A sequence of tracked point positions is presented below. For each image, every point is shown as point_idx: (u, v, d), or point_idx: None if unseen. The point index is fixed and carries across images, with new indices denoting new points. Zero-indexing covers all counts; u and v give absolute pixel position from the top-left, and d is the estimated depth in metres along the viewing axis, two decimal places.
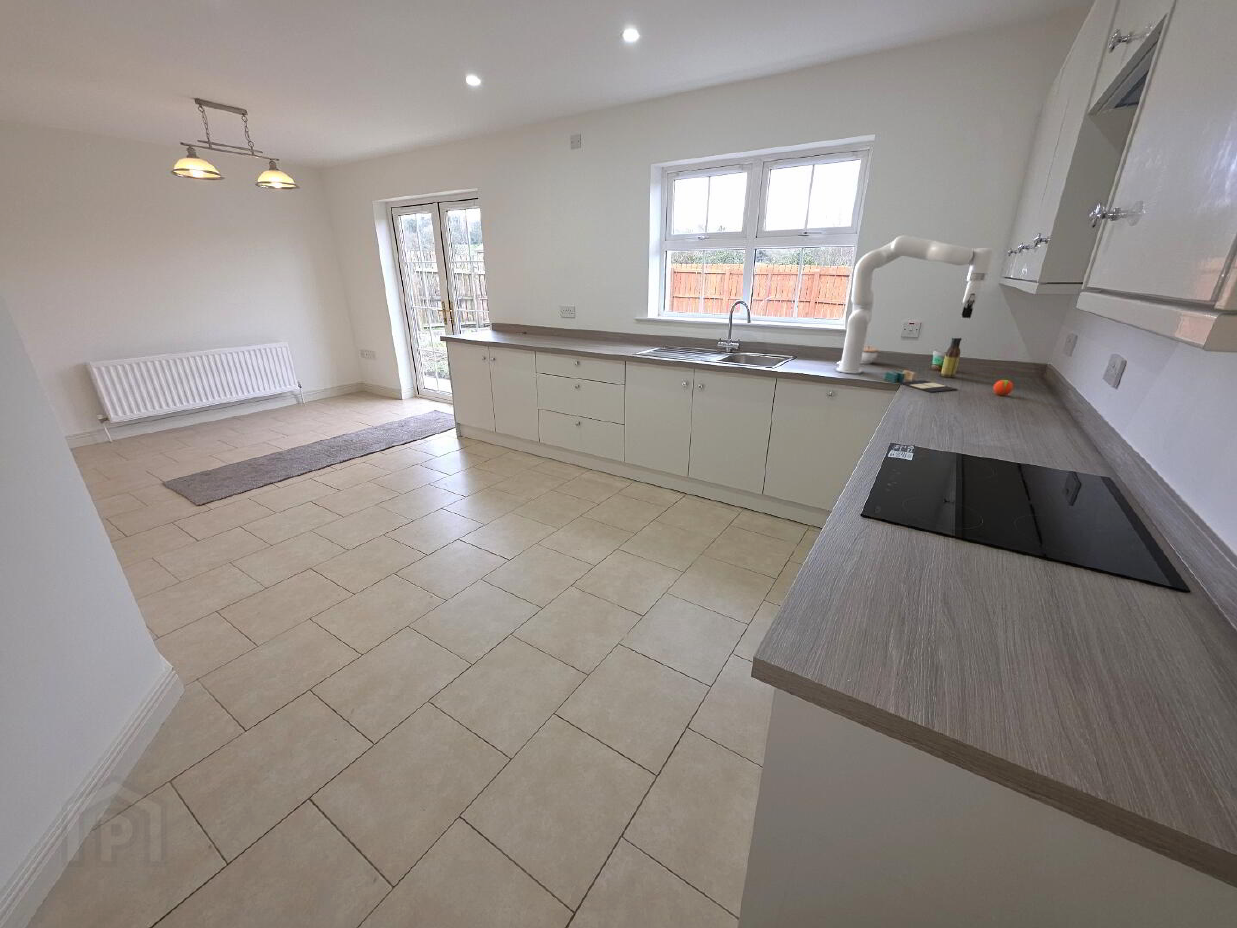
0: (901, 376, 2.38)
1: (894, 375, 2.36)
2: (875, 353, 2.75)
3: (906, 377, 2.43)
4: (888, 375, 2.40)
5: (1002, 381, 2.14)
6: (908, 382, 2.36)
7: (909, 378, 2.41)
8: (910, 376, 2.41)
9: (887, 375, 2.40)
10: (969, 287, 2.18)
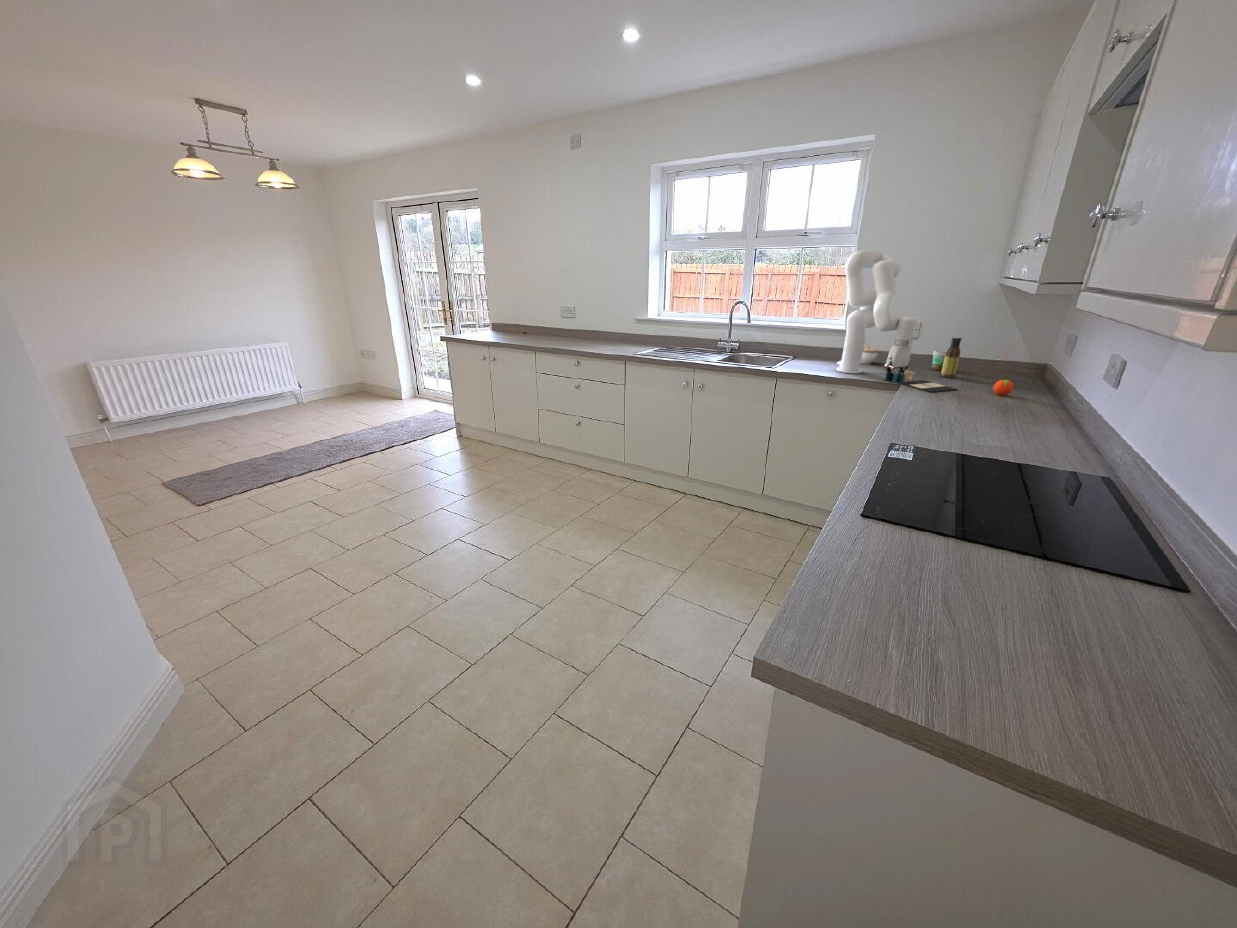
0: (901, 376, 2.38)
1: (894, 375, 2.36)
2: (875, 353, 2.75)
3: (906, 377, 2.43)
4: None
5: (1002, 381, 2.14)
6: (908, 382, 2.36)
7: (909, 378, 2.41)
8: (910, 376, 2.41)
9: None
10: None
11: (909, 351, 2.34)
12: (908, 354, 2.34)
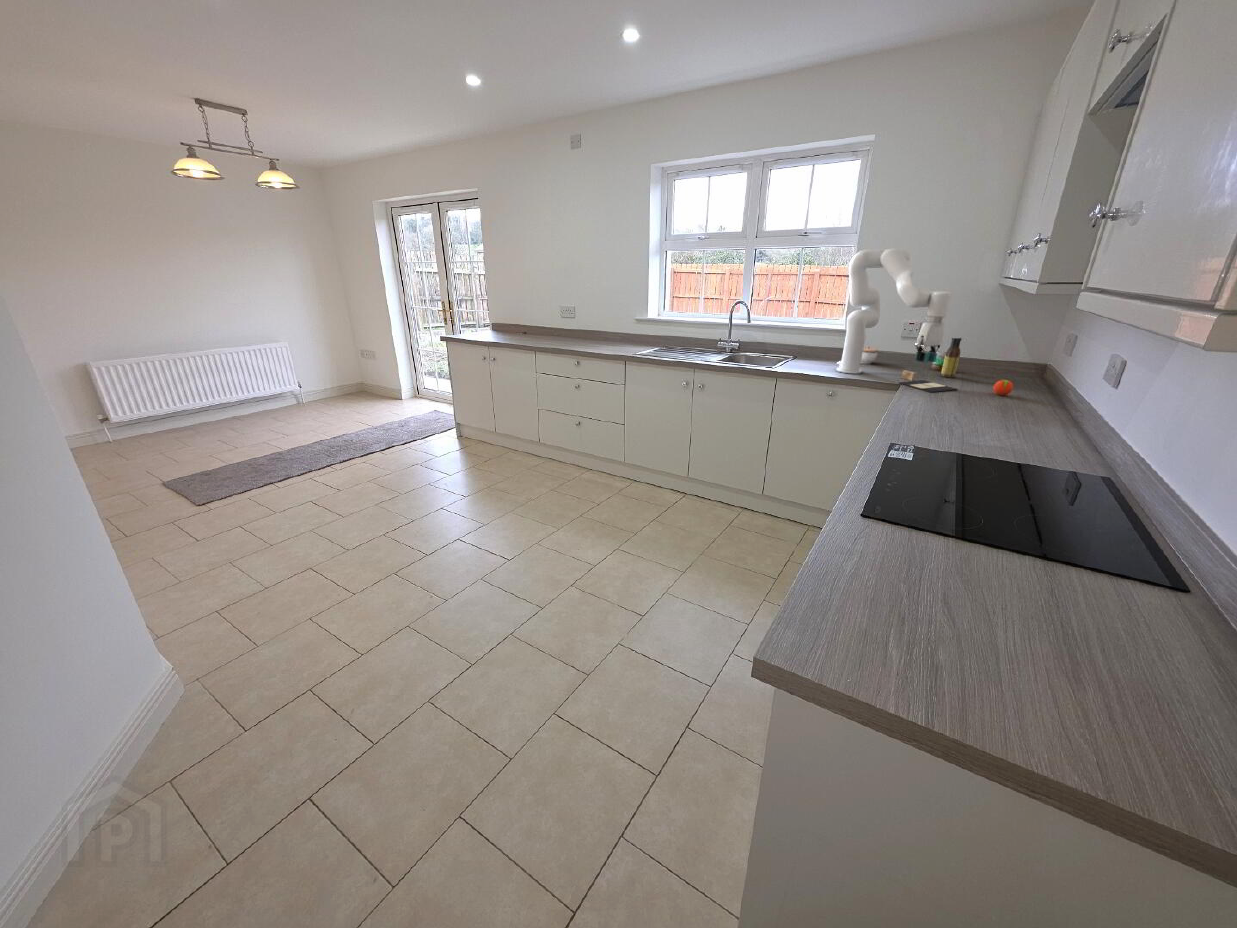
0: (933, 356, 2.23)
1: (926, 355, 2.21)
2: (875, 353, 2.75)
3: (906, 377, 2.43)
4: None
5: (1002, 381, 2.14)
6: (908, 382, 2.36)
7: (909, 378, 2.41)
8: (910, 376, 2.41)
9: None
10: (921, 329, 2.20)
11: (942, 329, 2.19)
12: (941, 332, 2.19)
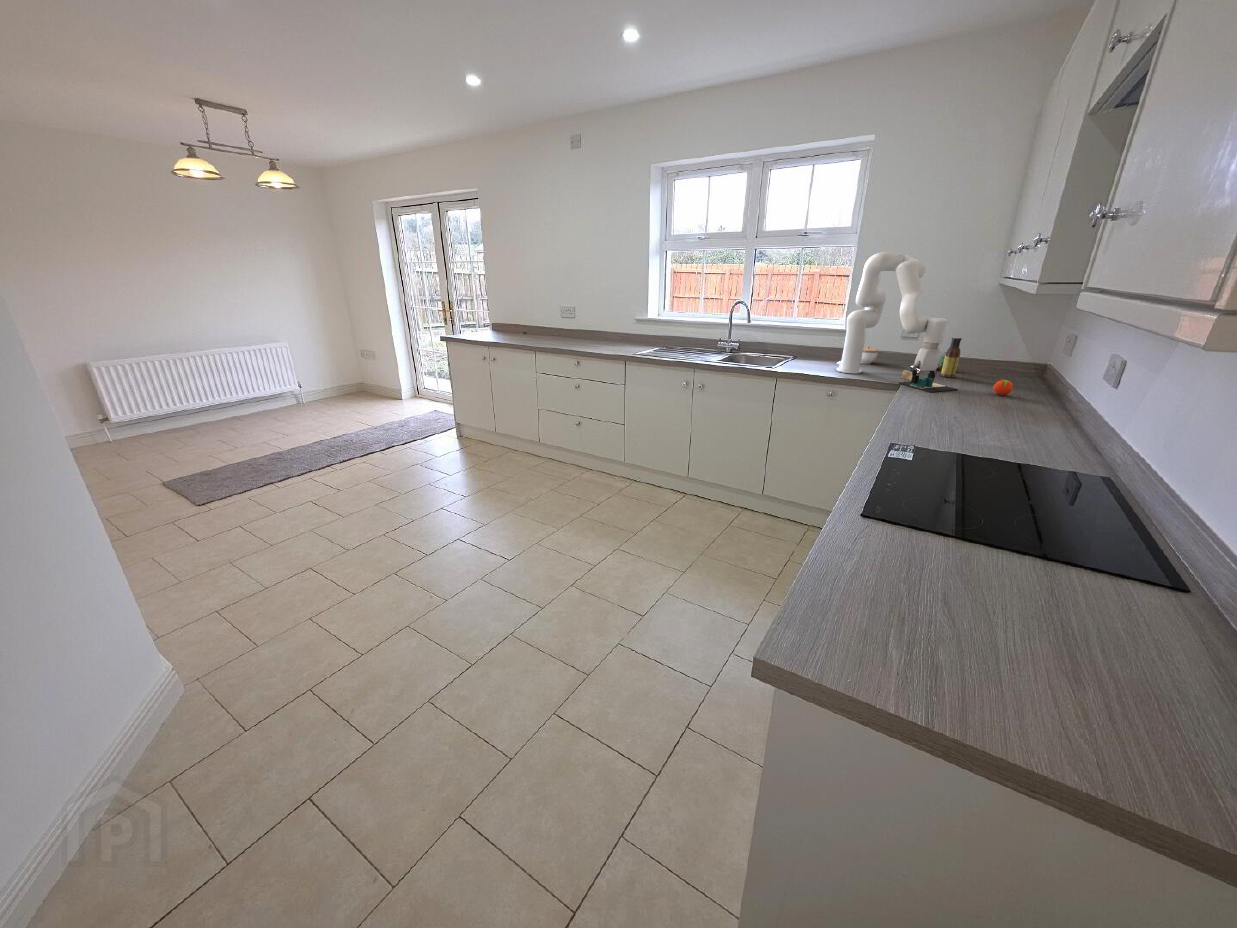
0: (929, 381, 2.26)
1: (922, 380, 2.25)
2: (875, 353, 2.75)
3: (906, 377, 2.43)
4: None
5: (1002, 381, 2.14)
6: (908, 382, 2.36)
7: (909, 378, 2.41)
8: (910, 376, 2.41)
9: None
10: (917, 354, 2.23)
11: (938, 354, 2.22)
12: (937, 357, 2.22)
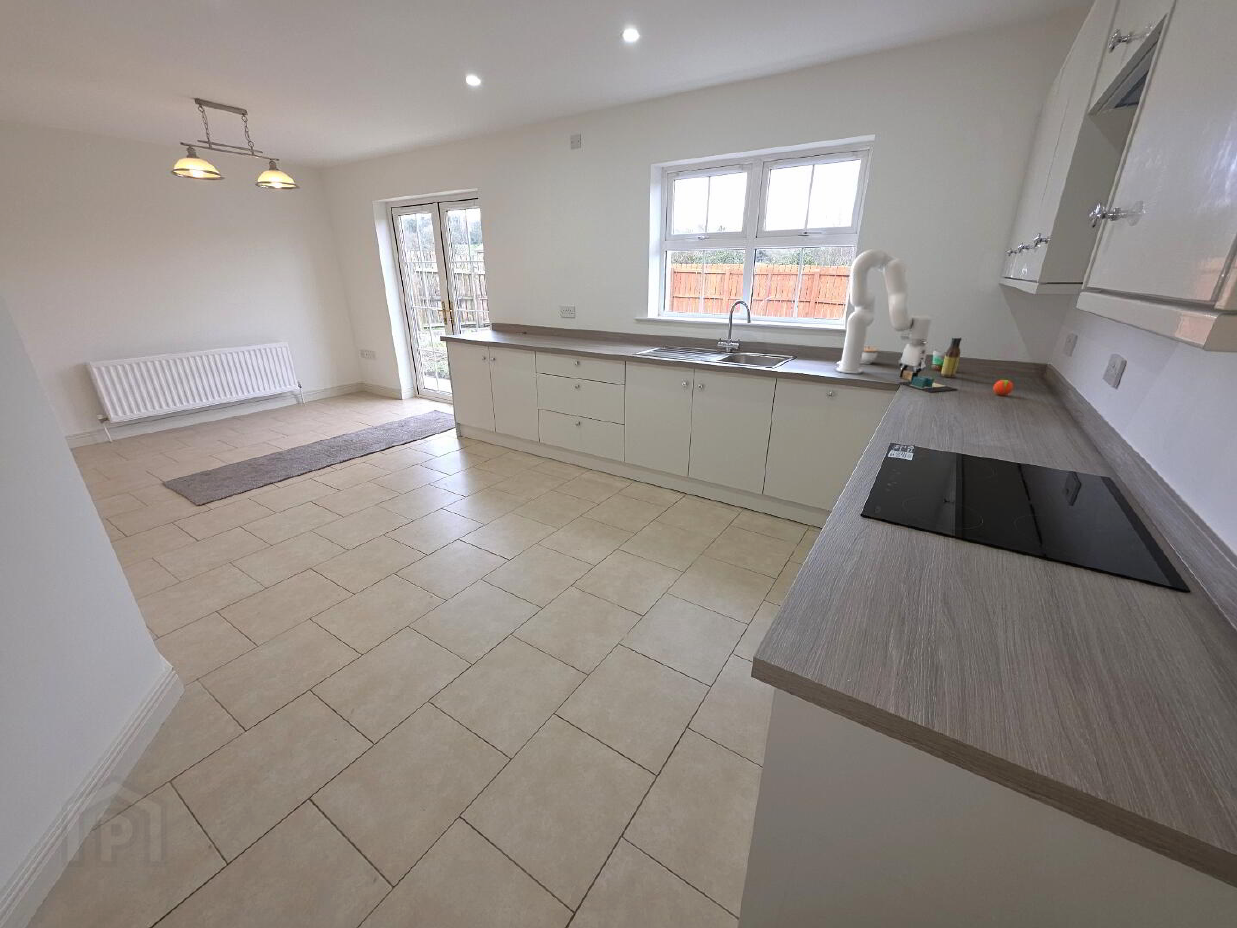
0: (929, 381, 2.26)
1: (922, 380, 2.25)
2: (875, 353, 2.75)
3: (906, 377, 2.43)
4: (915, 380, 2.28)
5: (1002, 381, 2.14)
6: (908, 382, 2.36)
7: (909, 378, 2.41)
8: (910, 376, 2.41)
9: (914, 380, 2.28)
10: None
11: (916, 351, 2.34)
12: (915, 354, 2.35)
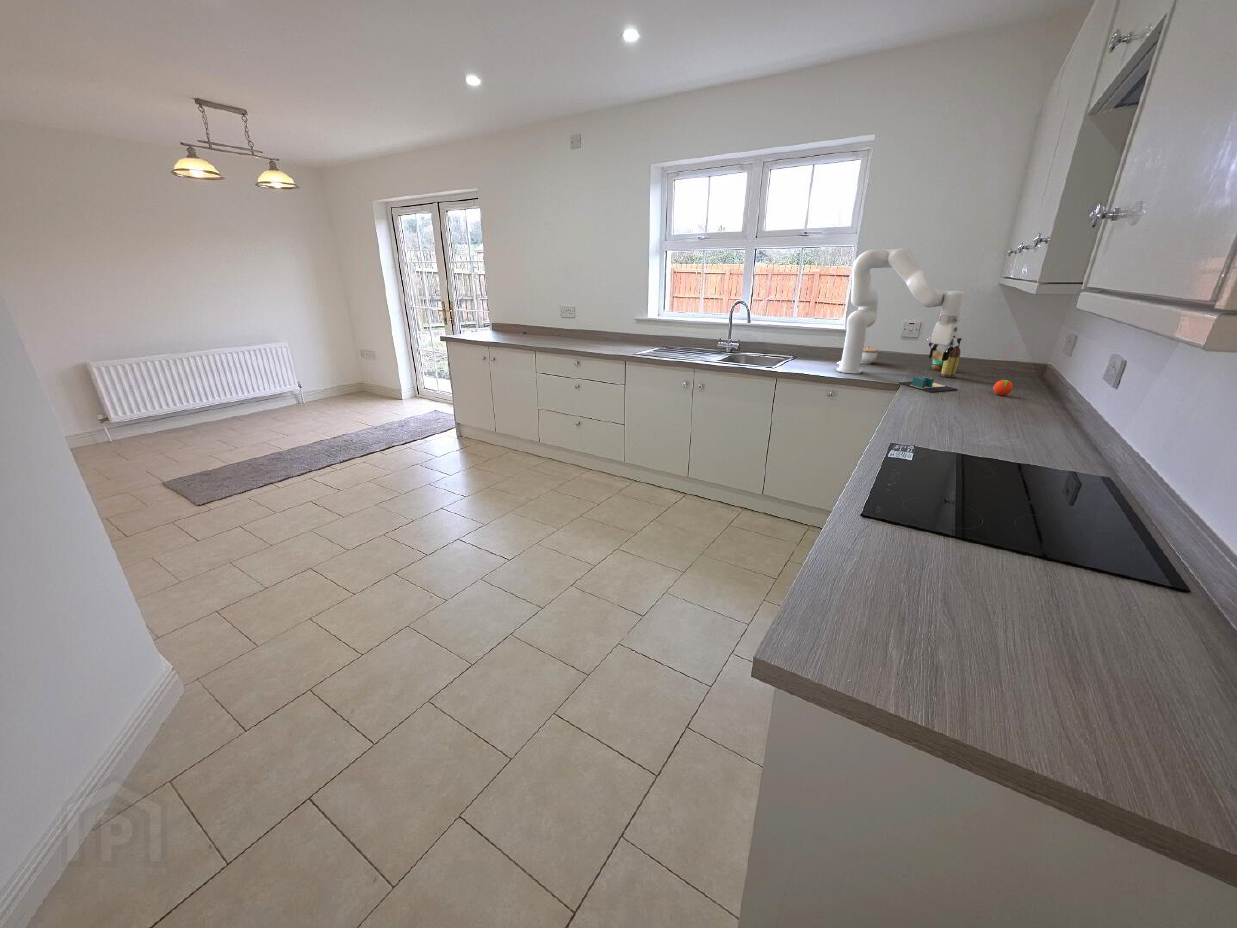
0: (929, 381, 2.26)
1: (922, 380, 2.25)
2: (875, 353, 2.75)
3: (936, 357, 2.27)
4: (915, 380, 2.28)
5: (1002, 381, 2.14)
6: (908, 382, 2.36)
7: (939, 358, 2.26)
8: (941, 356, 2.25)
9: (914, 380, 2.28)
10: None
11: (948, 329, 2.19)
12: (947, 332, 2.19)
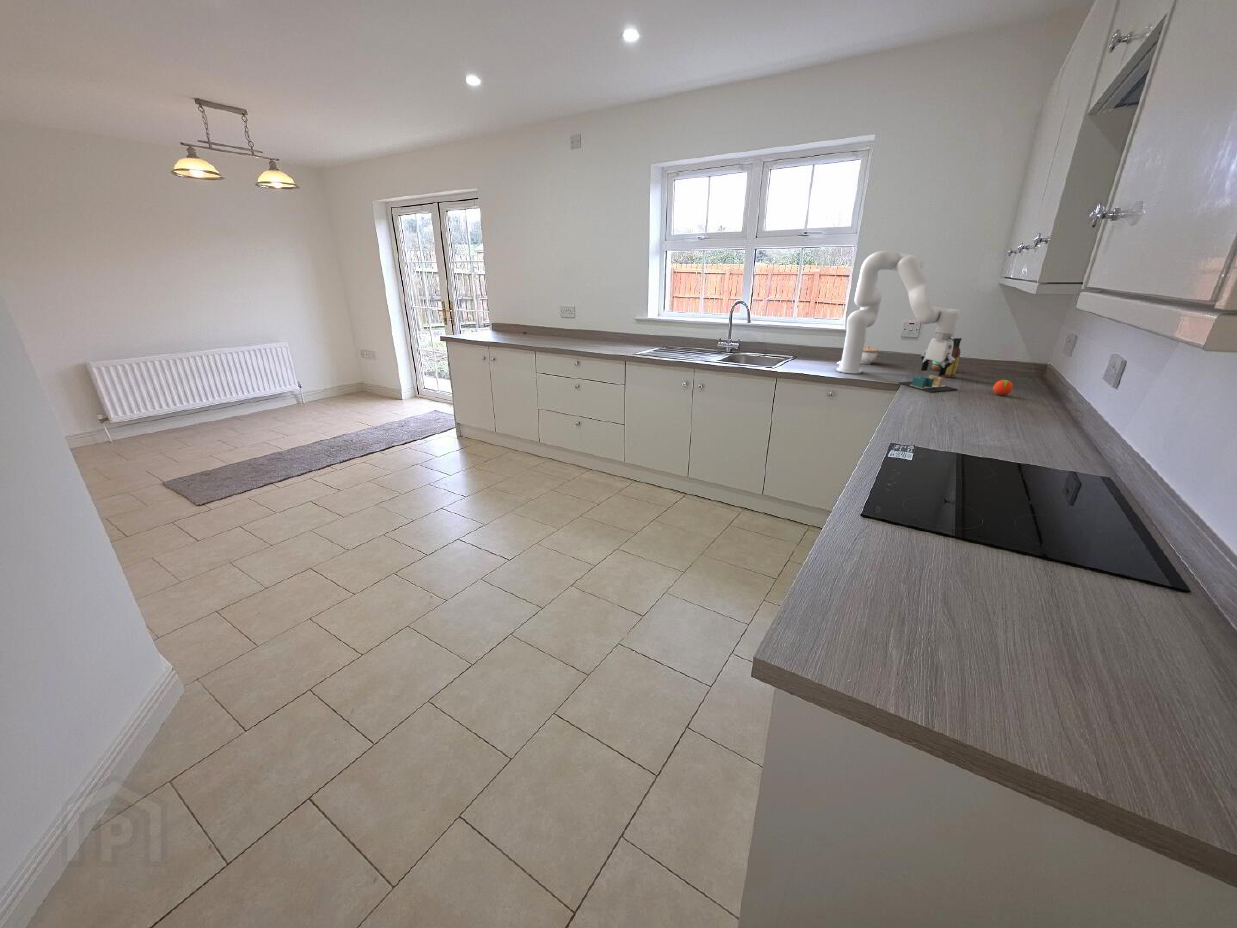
0: (929, 381, 2.26)
1: (922, 380, 2.25)
2: (875, 353, 2.75)
3: (933, 382, 2.31)
4: (915, 380, 2.28)
5: (1002, 381, 2.14)
6: (908, 382, 2.36)
7: (936, 383, 2.29)
8: (937, 381, 2.28)
9: (914, 380, 2.28)
10: None
11: (942, 346, 2.22)
12: (941, 349, 2.23)
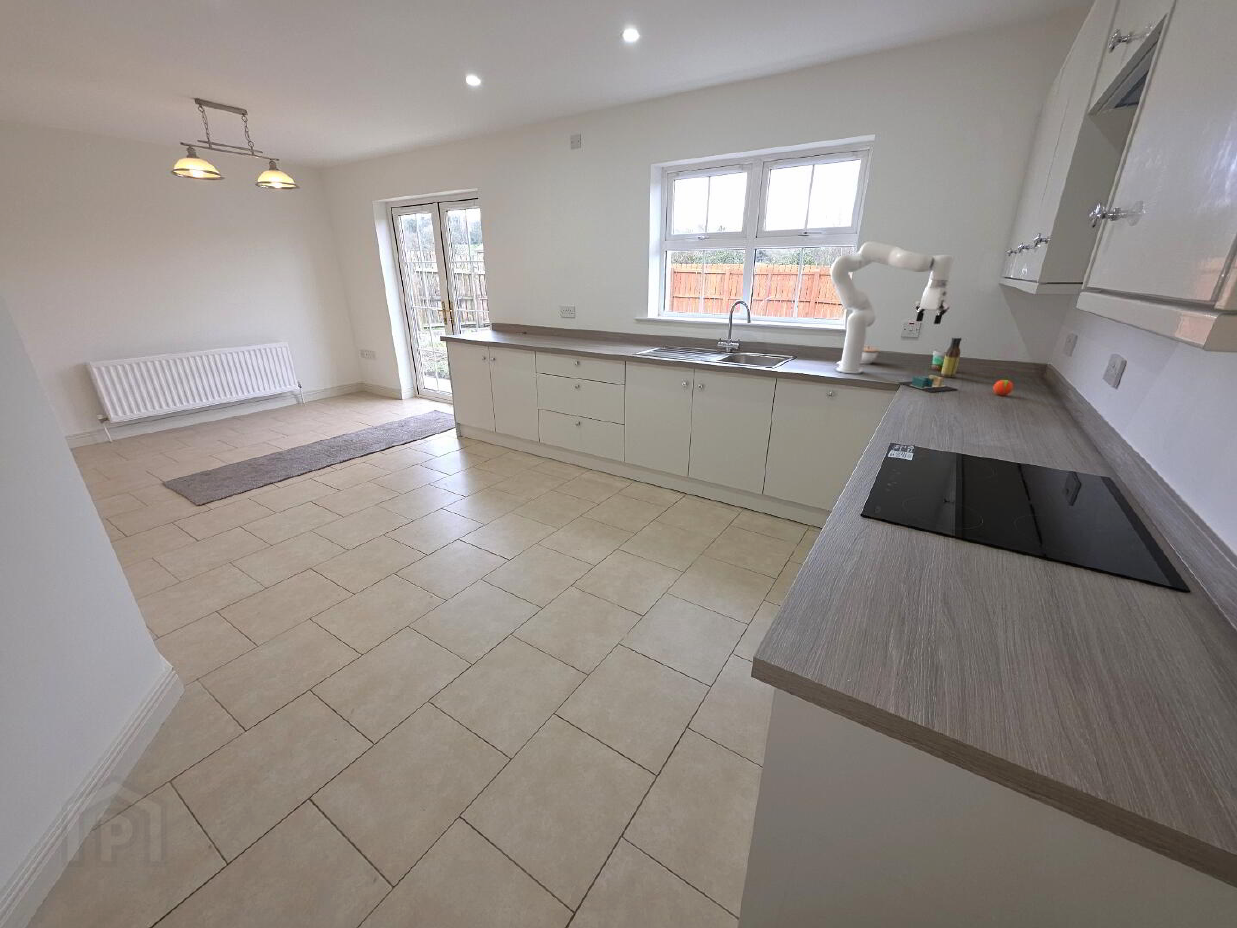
0: (929, 381, 2.26)
1: (922, 380, 2.25)
2: (875, 353, 2.75)
3: (933, 382, 2.31)
4: (915, 380, 2.28)
5: (1002, 381, 2.14)
6: (908, 382, 2.36)
7: (936, 383, 2.29)
8: (937, 381, 2.28)
9: (914, 380, 2.28)
10: None
11: (937, 293, 2.20)
12: (935, 296, 2.20)
